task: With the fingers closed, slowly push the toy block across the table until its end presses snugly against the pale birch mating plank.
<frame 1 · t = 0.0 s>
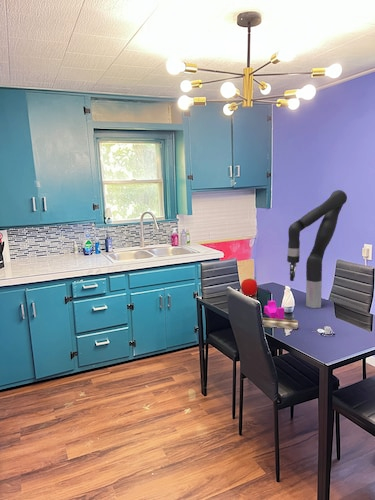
hand: (292, 279, 241), 17 cm above the table, tool pointing down, fingers open, 8 cm apart
tomato: (249, 295, 266), on the table
teacup and saucer: (326, 332, 200), on the table
toy block: (274, 316, 225), on the table
mating plank: (279, 326, 209), on the table
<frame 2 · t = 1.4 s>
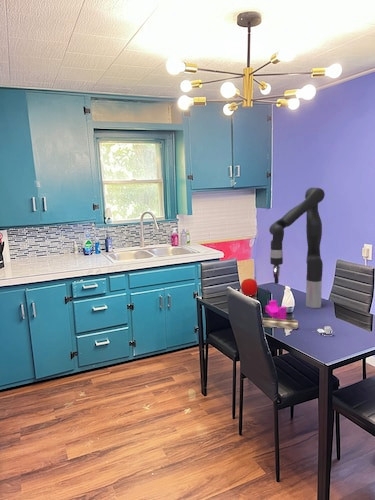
hand: (276, 283, 234), 17 cm above the table, tool pointing down, fingers closed
toy block: (275, 316, 226), on the table
everything else where it was.
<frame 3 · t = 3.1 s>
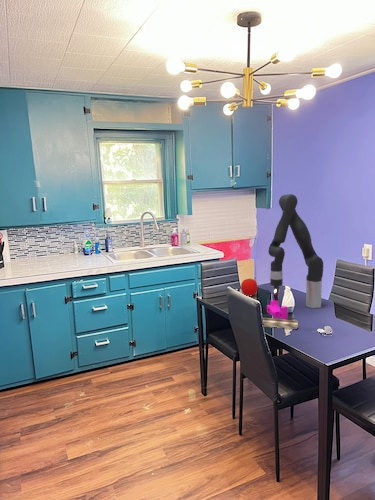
hand: (276, 303, 236), 4 cm above the table, tool pointing down, fingers closed
toy block: (277, 315, 227), on the table, touching gripper
everything else where it was.
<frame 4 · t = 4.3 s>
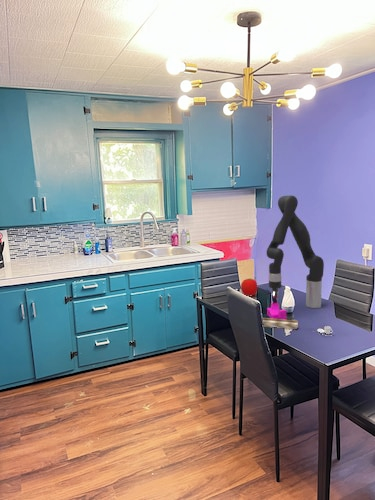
hand: (275, 306, 231), 4 cm above the table, tool pointing down, fingers closed
toy block: (276, 319, 222), on the table, touching gripper
everything else where it was.
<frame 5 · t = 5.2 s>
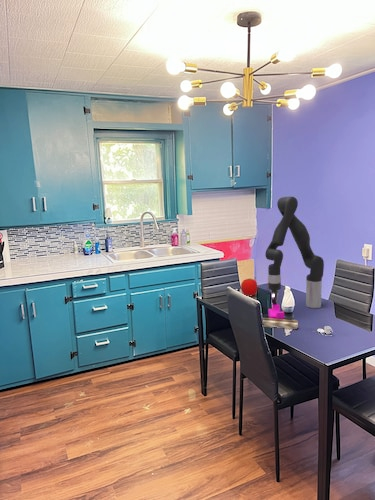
hand: (274, 308, 228), 4 cm above the table, tool pointing down, fingers closed
toy block: (275, 320, 219), on the table, touching gripper, mating plank
everything else where it was.
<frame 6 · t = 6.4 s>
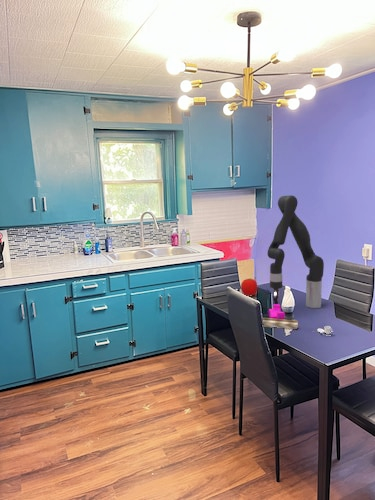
hand: (276, 306, 232), 3 cm above the table, tool pointing down, fingers closed
toy block: (276, 320, 219), on the table
everything else where it was.
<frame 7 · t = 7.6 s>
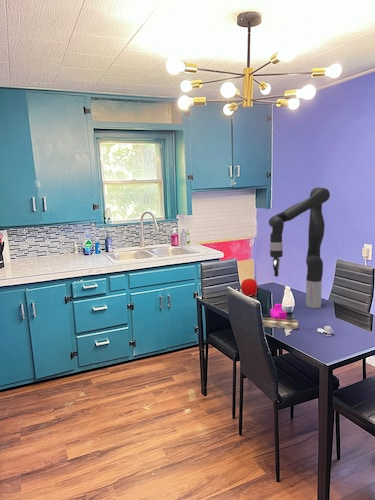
hand: (276, 276, 232), 22 cm above the table, tool pointing down, fingers closed
toy block: (278, 320, 219), on the table
everything else where it was.
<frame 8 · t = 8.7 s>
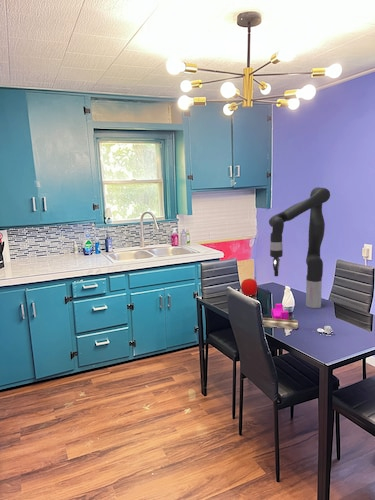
hand: (276, 276, 232), 22 cm above the table, tool pointing down, fingers closed
toy block: (279, 320, 219), on the table
everything else where it was.
at the end: toy block inside the target area (4.5 cm from its centre), on the table; toy block moved 6.3 cm from its start; toy block tilted 0° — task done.
